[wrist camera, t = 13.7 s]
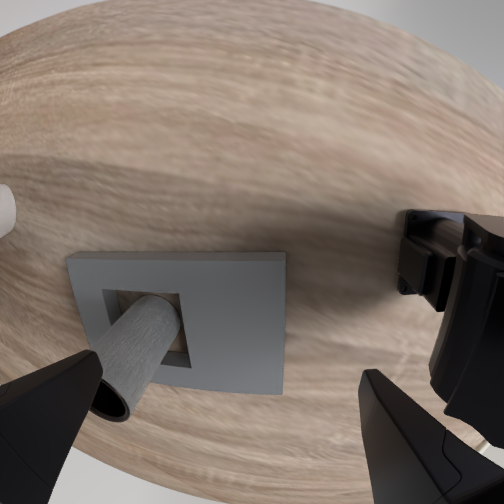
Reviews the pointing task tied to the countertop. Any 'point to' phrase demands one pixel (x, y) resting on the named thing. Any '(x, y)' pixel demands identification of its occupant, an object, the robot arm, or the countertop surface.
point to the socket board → (198, 312)
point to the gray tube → (133, 355)
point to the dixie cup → (6, 210)
